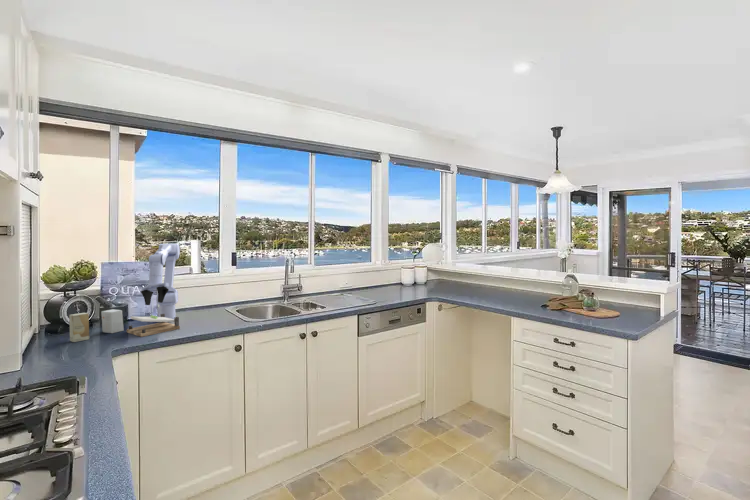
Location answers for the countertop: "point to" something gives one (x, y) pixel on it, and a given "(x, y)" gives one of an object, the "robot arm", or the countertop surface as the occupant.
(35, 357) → the countertop surface
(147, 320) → the levelling plate
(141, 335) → the oak base
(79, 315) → the skincare box
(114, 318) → the small box
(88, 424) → the countertop surface
